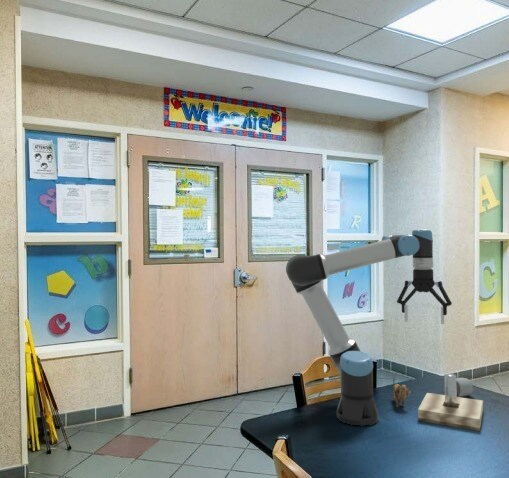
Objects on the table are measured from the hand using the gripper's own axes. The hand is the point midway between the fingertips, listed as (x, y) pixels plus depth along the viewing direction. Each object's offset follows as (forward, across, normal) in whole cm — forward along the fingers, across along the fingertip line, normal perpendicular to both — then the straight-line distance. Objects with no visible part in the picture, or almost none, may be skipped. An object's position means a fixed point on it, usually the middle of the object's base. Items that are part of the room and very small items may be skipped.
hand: (424, 322), depth 178 cm
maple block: (+33, +10, -7) cm, 35 cm away
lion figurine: (+33, -9, -3) cm, 34 cm away
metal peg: (+32, +10, -7) cm, 34 cm away
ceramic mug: (+33, +10, +18) cm, 39 cm away
